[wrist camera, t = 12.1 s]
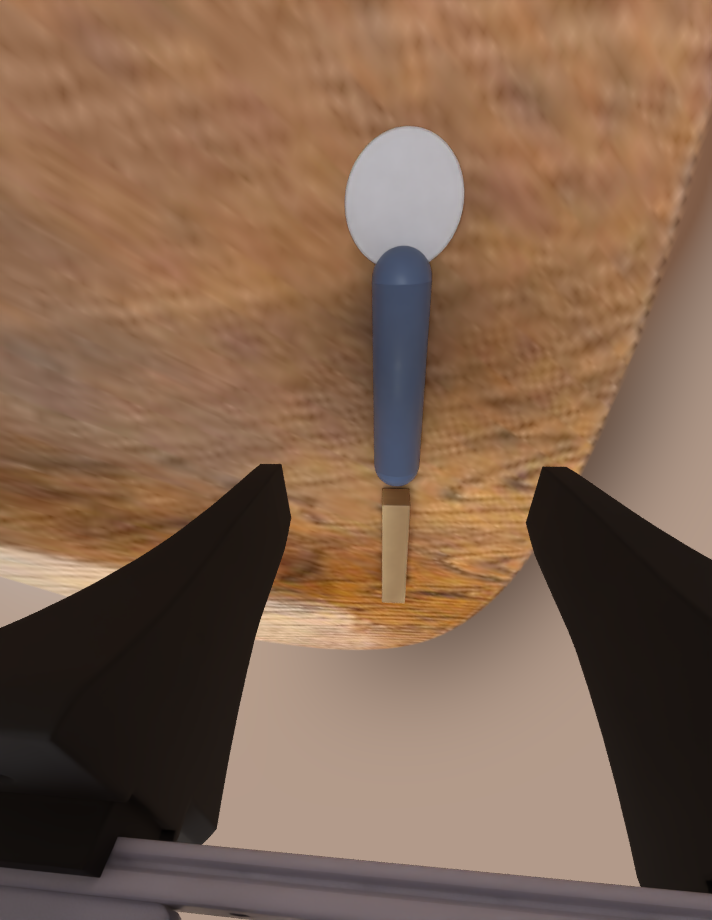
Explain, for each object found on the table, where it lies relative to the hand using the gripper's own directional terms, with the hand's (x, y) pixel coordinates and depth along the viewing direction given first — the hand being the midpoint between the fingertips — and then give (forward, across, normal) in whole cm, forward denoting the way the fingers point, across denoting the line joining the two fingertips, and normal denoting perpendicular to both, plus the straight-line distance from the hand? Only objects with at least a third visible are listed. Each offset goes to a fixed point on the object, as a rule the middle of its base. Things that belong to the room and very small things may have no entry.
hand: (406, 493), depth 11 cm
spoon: (+9, 0, -2) cm, 10 cm away
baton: (+9, 0, +12) cm, 15 cm away
